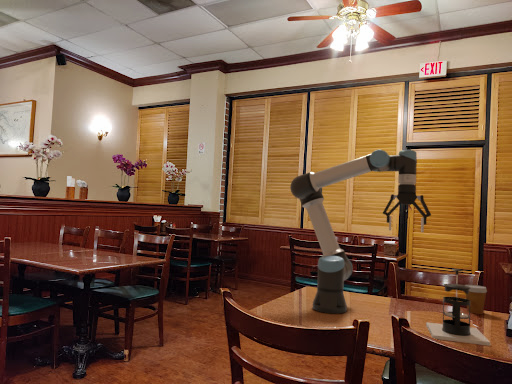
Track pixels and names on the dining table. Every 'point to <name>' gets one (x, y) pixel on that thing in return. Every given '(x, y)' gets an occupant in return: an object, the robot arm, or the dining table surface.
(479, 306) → the disposable coffee cup
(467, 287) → the french press
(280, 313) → the dining table surface
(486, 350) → the dining table surface
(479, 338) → the ceramic trivet
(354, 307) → the dining table surface
